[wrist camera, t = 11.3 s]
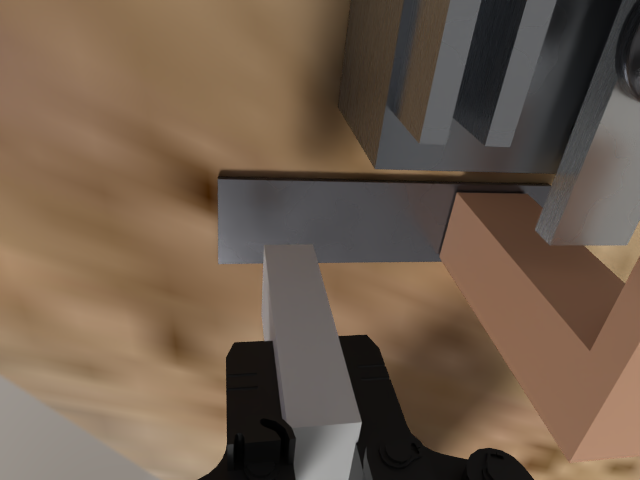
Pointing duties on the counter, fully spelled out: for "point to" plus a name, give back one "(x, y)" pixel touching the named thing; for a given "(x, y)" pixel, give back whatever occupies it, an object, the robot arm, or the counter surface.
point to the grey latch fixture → (429, 124)
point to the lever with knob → (602, 150)
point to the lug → (552, 322)
